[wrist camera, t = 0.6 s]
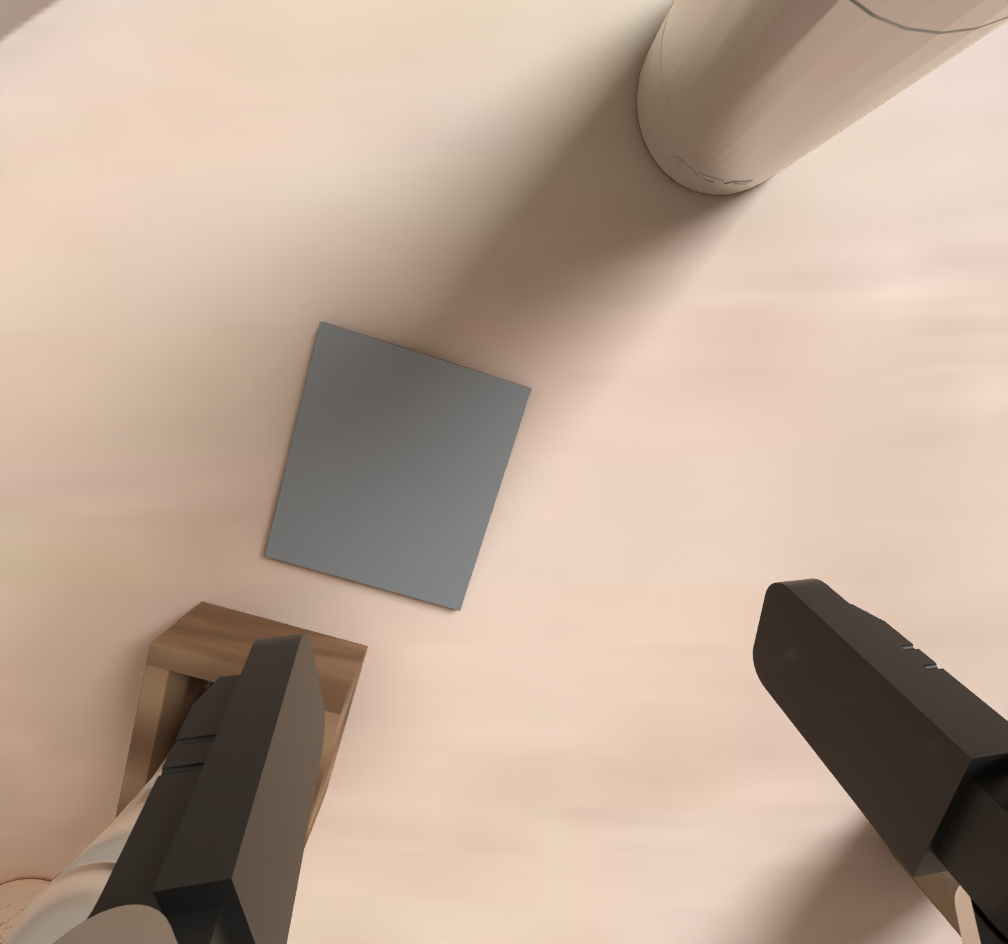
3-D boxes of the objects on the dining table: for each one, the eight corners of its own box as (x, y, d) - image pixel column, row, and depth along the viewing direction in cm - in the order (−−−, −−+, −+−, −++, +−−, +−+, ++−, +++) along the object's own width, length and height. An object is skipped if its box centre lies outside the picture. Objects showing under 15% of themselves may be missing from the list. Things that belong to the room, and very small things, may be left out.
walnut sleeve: (202, 601, 32) (150, 644, 27) (367, 646, 33) (345, 695, 28) (168, 756, 34) (114, 822, 30) (324, 795, 35) (297, 864, 30)
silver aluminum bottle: (336, 686, 34) (118, 1137, 14) (286, 764, 35) (19, 1283, 15) (245, 637, 33) (-122, 1043, 13) (196, 718, 34) (-209, 1205, 14)
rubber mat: (323, 322, 29) (320, 321, 28) (530, 388, 30) (531, 388, 29) (269, 552, 32) (264, 556, 31) (460, 606, 33) (460, 610, 32)
